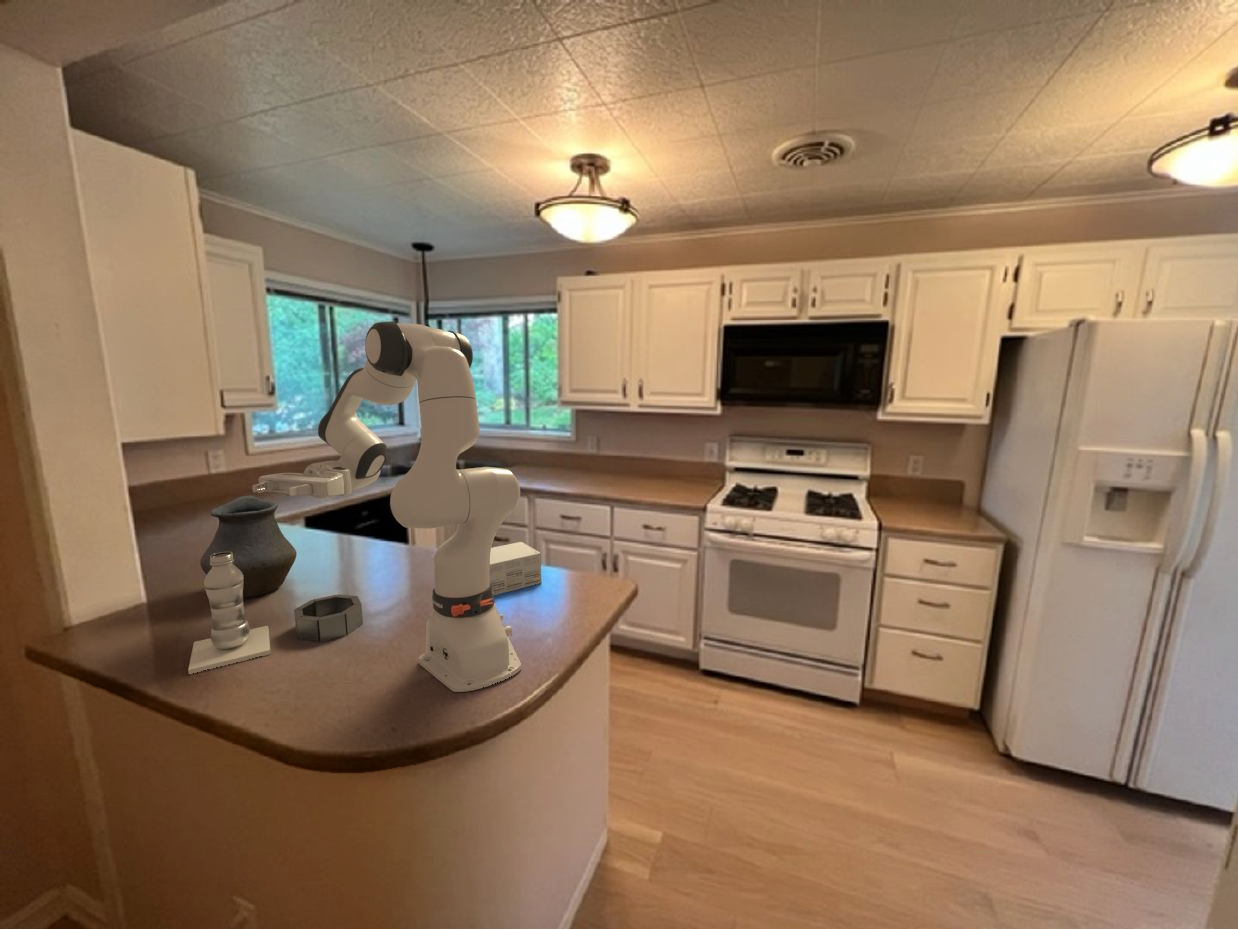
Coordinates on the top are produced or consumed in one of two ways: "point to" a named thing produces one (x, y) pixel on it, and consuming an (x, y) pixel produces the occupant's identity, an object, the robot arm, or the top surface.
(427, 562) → the top surface
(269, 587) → the dark grey clay pot
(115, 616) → the top surface
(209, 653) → the ceramic tile
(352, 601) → the metal ring
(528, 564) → the supplement box
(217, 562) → the plastic bottle
